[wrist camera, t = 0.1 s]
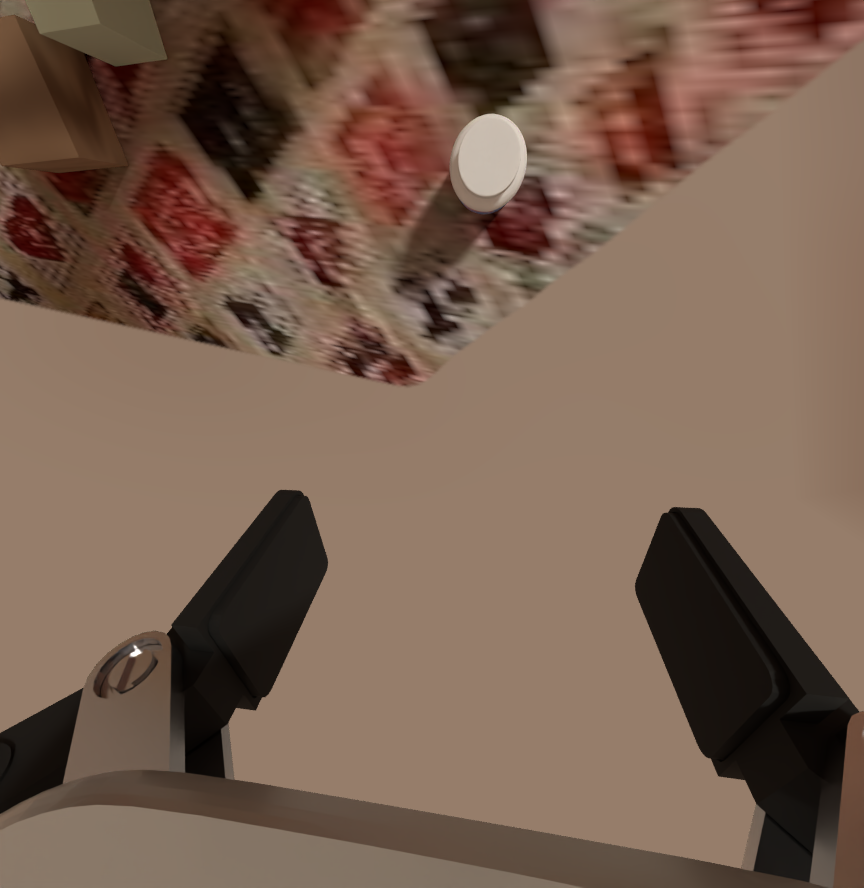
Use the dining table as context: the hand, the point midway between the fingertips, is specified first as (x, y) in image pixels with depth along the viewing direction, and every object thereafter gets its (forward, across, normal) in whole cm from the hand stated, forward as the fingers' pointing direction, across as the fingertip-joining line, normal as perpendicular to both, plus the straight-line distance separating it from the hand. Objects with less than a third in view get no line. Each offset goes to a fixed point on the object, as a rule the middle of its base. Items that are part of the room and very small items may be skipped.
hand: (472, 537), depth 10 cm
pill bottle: (+31, 0, -11) cm, 33 cm away
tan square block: (+31, +38, -18) cm, 52 cm away
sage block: (+31, +29, -23) cm, 48 cm away
